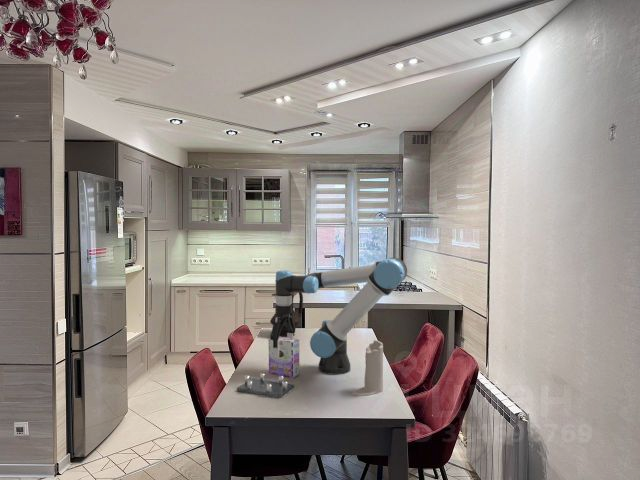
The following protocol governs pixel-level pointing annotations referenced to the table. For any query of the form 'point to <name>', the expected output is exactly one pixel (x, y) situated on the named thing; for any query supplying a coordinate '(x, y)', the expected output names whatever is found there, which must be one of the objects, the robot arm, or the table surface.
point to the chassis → (265, 387)
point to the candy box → (285, 358)
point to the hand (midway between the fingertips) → (283, 350)
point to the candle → (373, 370)
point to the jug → (295, 316)
